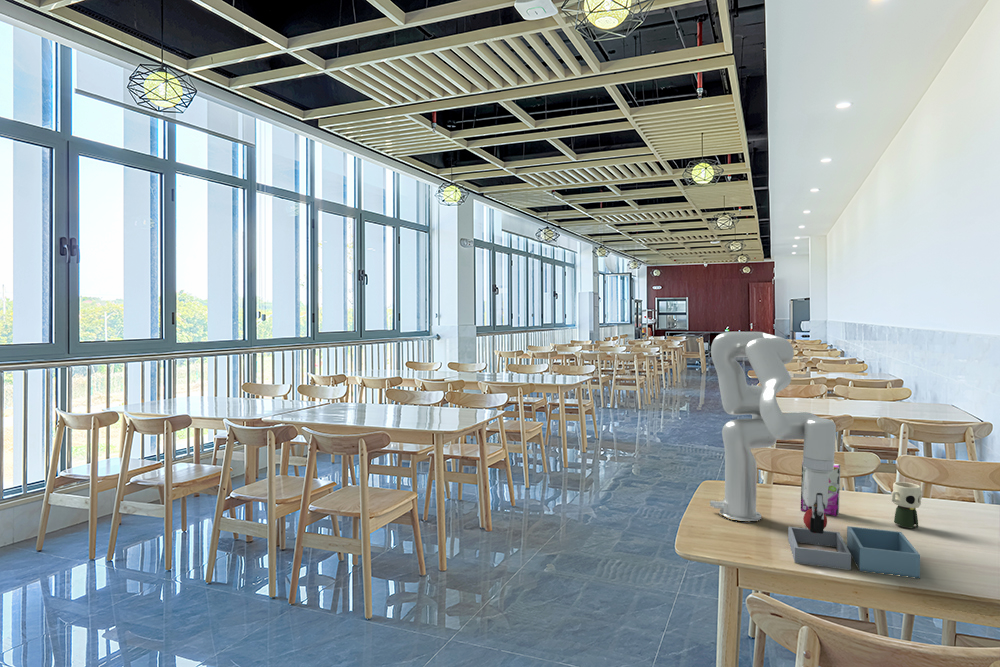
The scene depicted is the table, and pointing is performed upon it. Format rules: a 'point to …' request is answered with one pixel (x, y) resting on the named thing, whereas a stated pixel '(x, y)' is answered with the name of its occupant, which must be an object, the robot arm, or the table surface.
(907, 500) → the character mug
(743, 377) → the robot arm
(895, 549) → the blue bin
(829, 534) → the grey crate
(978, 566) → the table surface
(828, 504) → the candy bar box
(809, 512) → the onion
